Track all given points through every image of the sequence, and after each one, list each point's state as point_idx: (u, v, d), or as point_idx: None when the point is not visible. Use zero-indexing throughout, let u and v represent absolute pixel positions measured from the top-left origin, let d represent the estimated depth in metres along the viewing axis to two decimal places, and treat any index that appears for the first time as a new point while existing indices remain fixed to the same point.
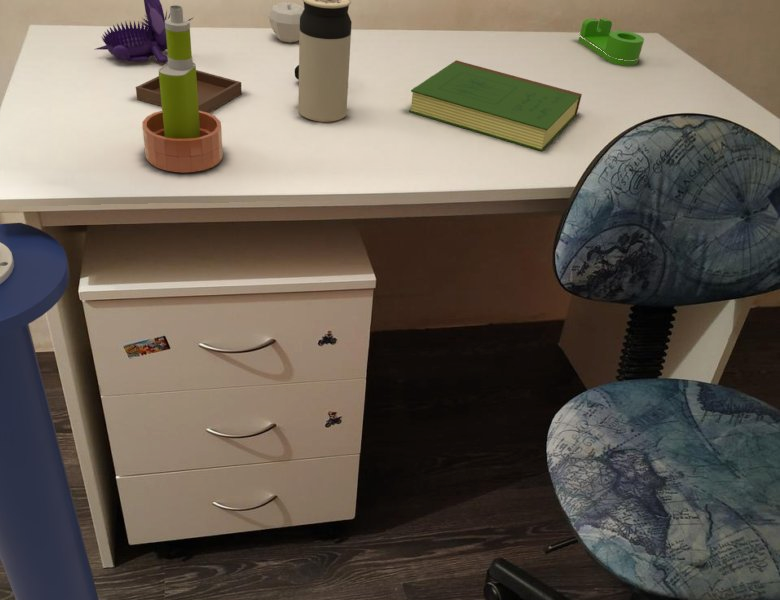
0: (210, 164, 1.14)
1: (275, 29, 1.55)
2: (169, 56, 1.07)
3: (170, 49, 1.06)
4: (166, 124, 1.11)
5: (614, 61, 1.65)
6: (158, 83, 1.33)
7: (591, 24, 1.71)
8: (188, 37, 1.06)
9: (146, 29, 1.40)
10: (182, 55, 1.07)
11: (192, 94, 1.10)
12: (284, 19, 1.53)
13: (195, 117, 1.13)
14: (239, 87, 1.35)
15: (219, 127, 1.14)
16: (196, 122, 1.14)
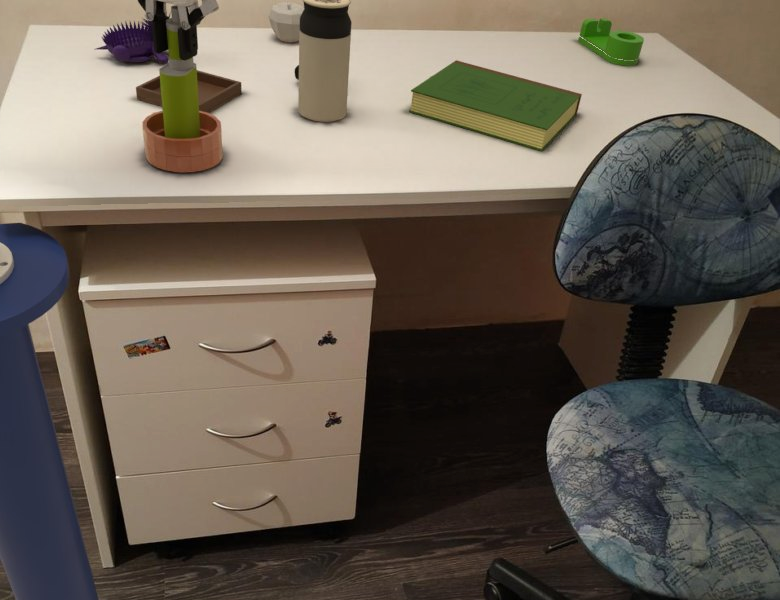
0: (210, 164, 1.14)
1: (275, 29, 1.55)
2: (170, 56, 1.07)
3: (171, 49, 1.06)
4: (166, 124, 1.11)
5: (614, 61, 1.65)
6: (158, 83, 1.33)
7: (591, 24, 1.71)
8: None
9: (146, 29, 1.40)
10: None
11: (193, 94, 1.10)
12: (284, 19, 1.53)
13: (196, 117, 1.13)
14: (239, 87, 1.35)
15: (219, 127, 1.14)
16: (196, 122, 1.14)
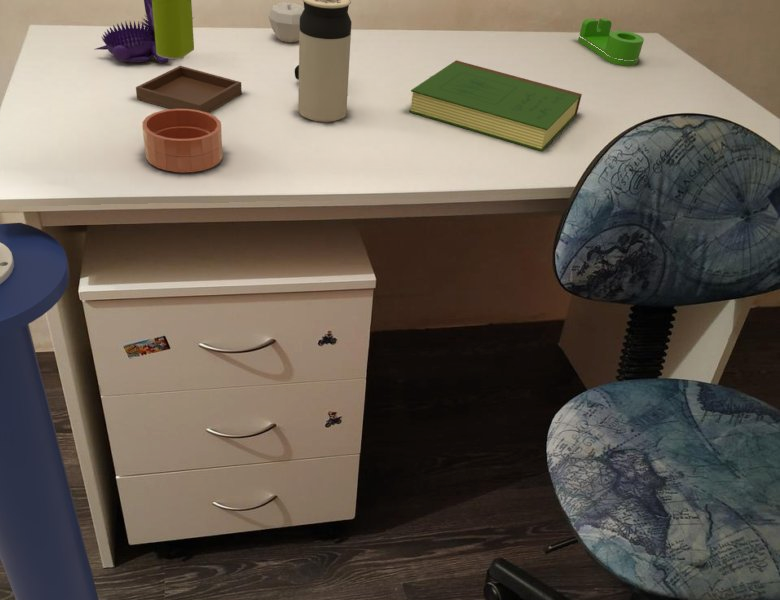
0: (210, 164, 1.14)
1: (275, 29, 1.55)
2: None
3: None
4: (155, 11, 1.02)
5: (614, 61, 1.65)
6: (158, 83, 1.33)
7: (591, 24, 1.71)
8: None
9: (146, 29, 1.40)
10: None
11: None
12: (284, 19, 1.53)
13: (188, 6, 1.04)
14: (239, 87, 1.35)
15: (219, 127, 1.14)
16: (188, 12, 1.05)
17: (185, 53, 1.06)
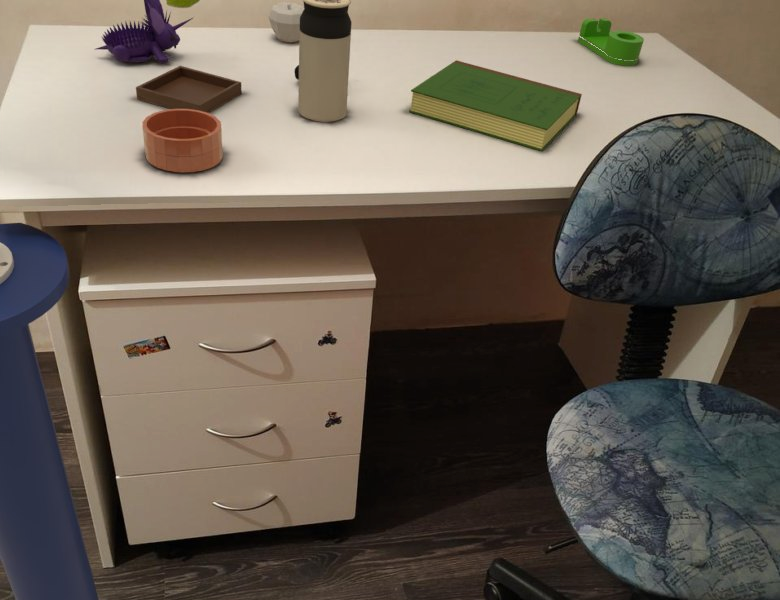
0: (210, 164, 1.14)
1: (275, 29, 1.55)
2: None
3: None
4: None
5: (614, 61, 1.65)
6: (158, 83, 1.33)
7: (591, 24, 1.71)
8: None
9: (146, 29, 1.40)
10: None
11: None
12: (284, 19, 1.53)
13: None
14: (239, 87, 1.35)
15: (219, 127, 1.14)
16: None
17: (192, 3, 1.21)
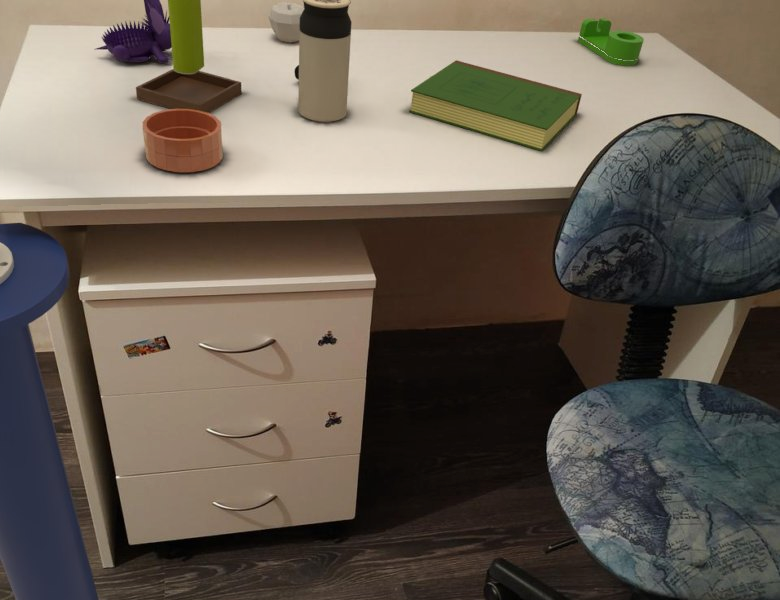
0: (210, 164, 1.14)
1: (275, 29, 1.55)
2: None
3: None
4: (173, 36, 1.25)
5: (614, 61, 1.65)
6: (158, 83, 1.33)
7: (590, 24, 1.71)
8: None
9: (146, 29, 1.40)
10: None
11: (196, 9, 1.24)
12: (284, 19, 1.53)
13: (199, 31, 1.27)
14: (239, 87, 1.35)
15: (219, 127, 1.14)
16: (200, 36, 1.27)
17: (197, 69, 1.29)
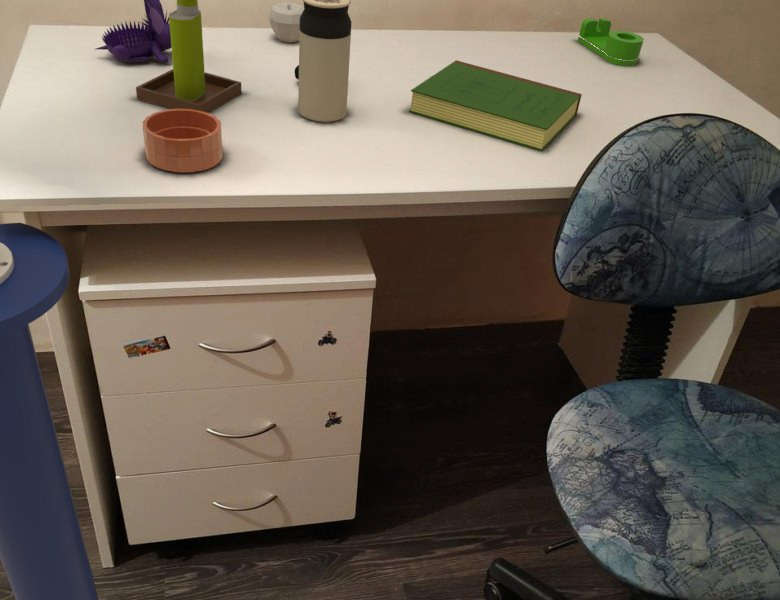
0: (210, 164, 1.14)
1: (275, 29, 1.55)
2: (178, 3, 1.24)
3: None
4: (175, 64, 1.27)
5: (614, 61, 1.65)
6: (158, 83, 1.33)
7: (590, 24, 1.71)
8: None
9: (146, 29, 1.40)
10: (189, 2, 1.23)
11: (198, 38, 1.27)
12: (284, 19, 1.53)
13: (200, 59, 1.29)
14: (239, 87, 1.35)
15: (219, 127, 1.14)
16: (201, 63, 1.30)
17: (198, 96, 1.32)
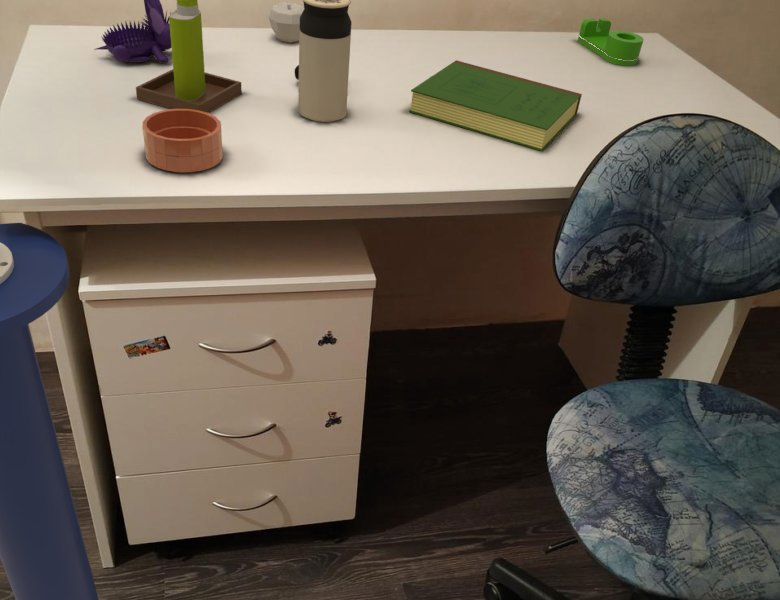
0: (210, 164, 1.14)
1: (275, 29, 1.55)
2: (178, 3, 1.24)
3: None
4: (175, 64, 1.27)
5: (614, 61, 1.65)
6: (158, 83, 1.33)
7: (590, 24, 1.71)
8: None
9: (146, 29, 1.40)
10: (189, 2, 1.23)
11: (198, 38, 1.27)
12: (284, 19, 1.53)
13: (200, 59, 1.29)
14: (239, 87, 1.35)
15: (219, 127, 1.14)
16: (201, 63, 1.30)
17: (198, 96, 1.32)
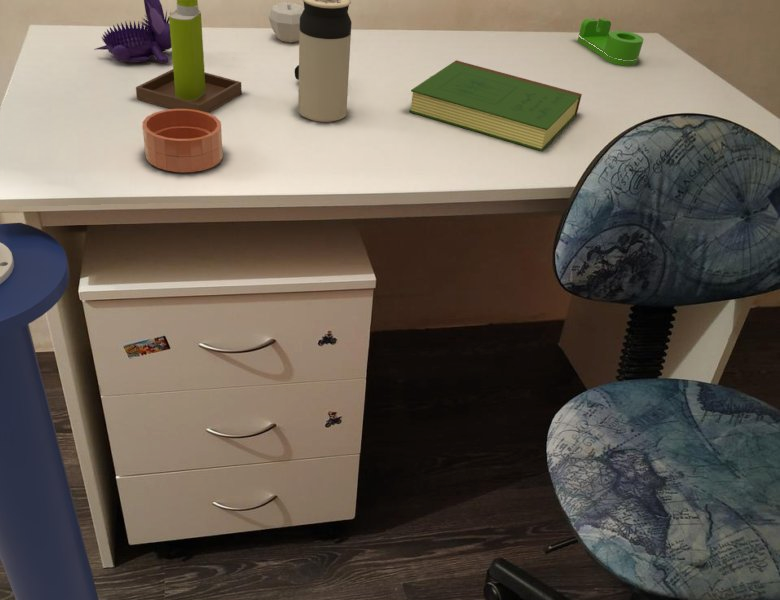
0: (210, 164, 1.14)
1: (275, 29, 1.55)
2: (178, 3, 1.24)
3: None
4: (175, 64, 1.27)
5: (614, 61, 1.65)
6: (158, 83, 1.33)
7: (590, 24, 1.71)
8: None
9: (146, 29, 1.40)
10: (189, 2, 1.23)
11: (198, 38, 1.27)
12: (284, 19, 1.53)
13: (200, 59, 1.29)
14: (239, 87, 1.35)
15: (219, 127, 1.14)
16: (201, 63, 1.30)
17: (198, 96, 1.32)
